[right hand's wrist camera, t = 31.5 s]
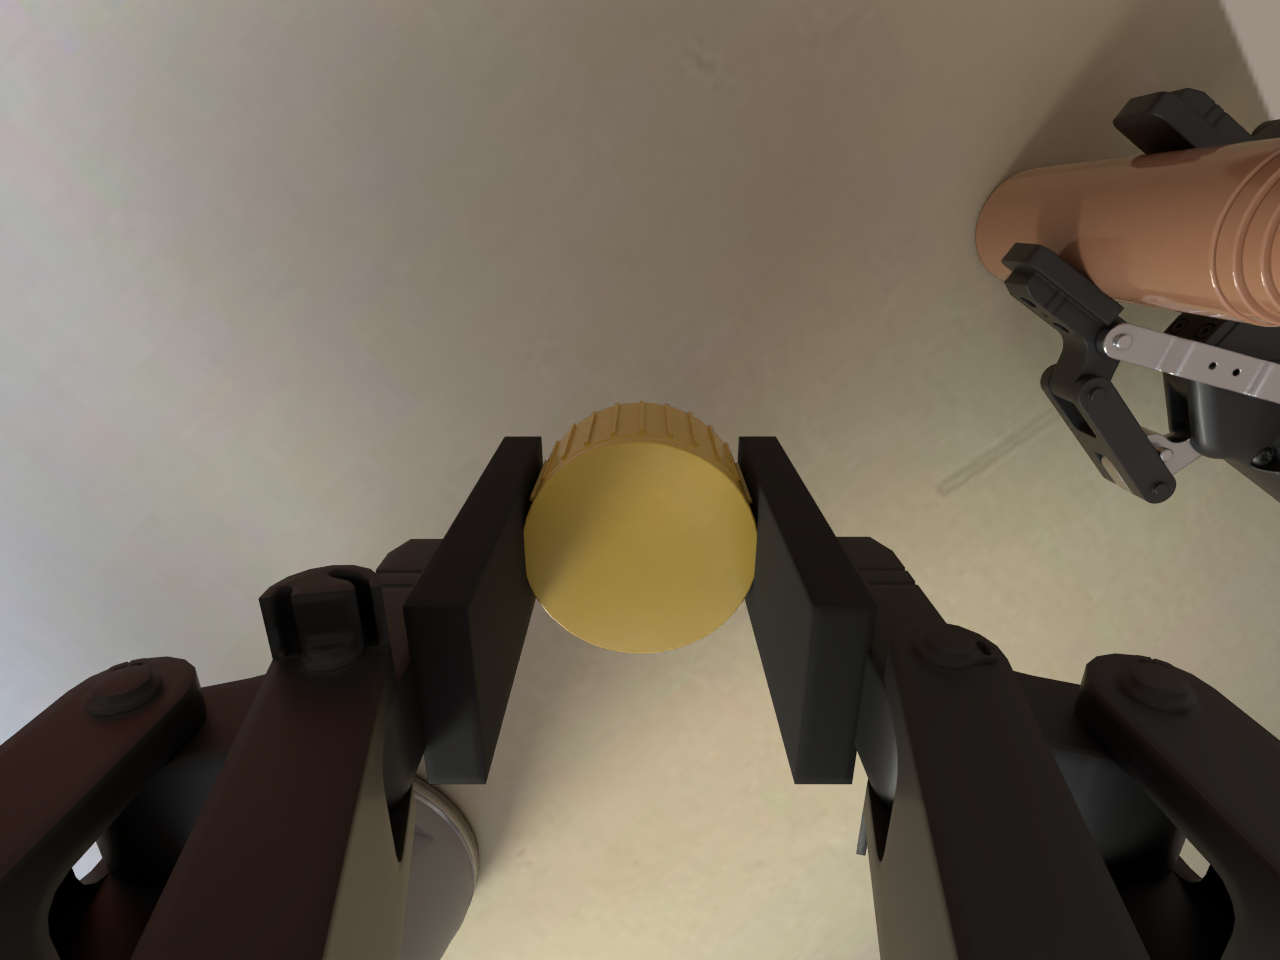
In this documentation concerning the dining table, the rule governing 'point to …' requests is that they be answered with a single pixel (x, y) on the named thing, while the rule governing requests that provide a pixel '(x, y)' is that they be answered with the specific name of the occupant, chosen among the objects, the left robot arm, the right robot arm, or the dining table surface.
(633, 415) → the cap
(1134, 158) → the bottle
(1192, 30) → the dining table surface
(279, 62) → the dining table surface
